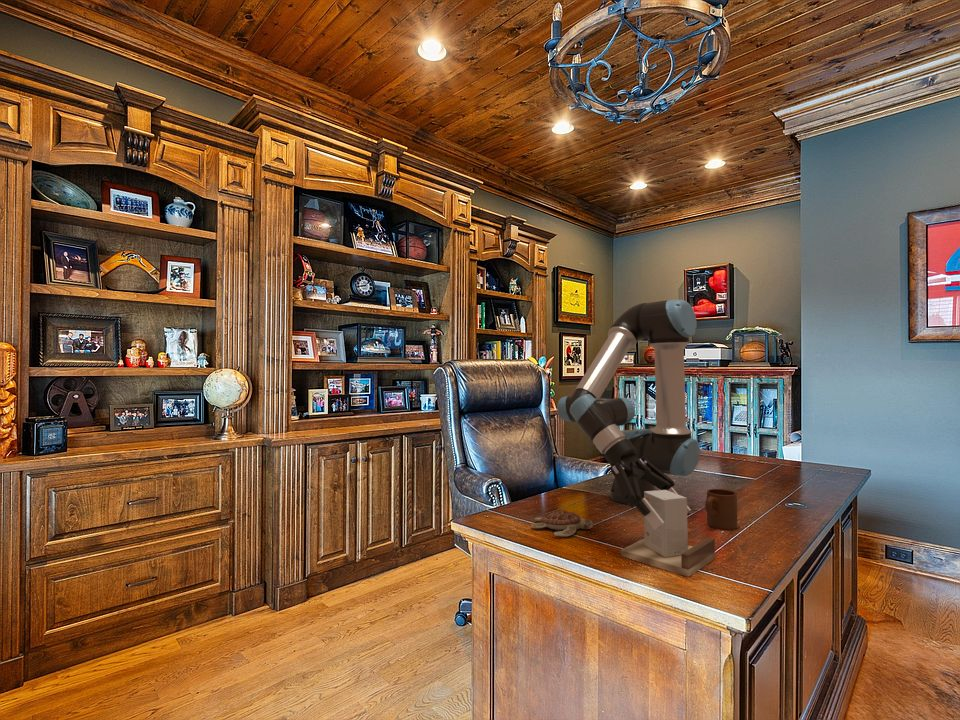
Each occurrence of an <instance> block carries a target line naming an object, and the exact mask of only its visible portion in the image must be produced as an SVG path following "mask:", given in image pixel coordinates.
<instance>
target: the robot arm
mask: <svg viewBox="0 0 960 720" xmlns="http://www.w3.org/2000/svg"><path fill="white" fill-rule="evenodd" d="M697 324H698V323H697V317H696V312H695V310H694V308H693V307H692V305H691V304H690V303H689V302H688V301H686V300H684V299H668V300H660V301H654V302H642V303H639V304H635V305H633V306H631V307H629V308H628V309H626V310H625V311H624V312H623V313H622V314H621V315H620V316H619V317H618V318H617V319H616V320H615V321H614V323H613V324H612V325H611V326H610V327H609V330H608V332H607V339H606V340H605V342H604V343H603V345H602V346H601V348H600V350H599V351H598V352H597V354H596V356H595V358H594V359H593V360H592V363H591V364H590V365H589V367H588V369H587V370H586V372H585V373H584V375H583V377H581V379H580V382H579V383H578V384H577V385H576V388H575V390H574V391H573V392H572V394H571V395H567V396H563V397H561V398H560V399H559V400H558V402H557V406H556V411H557V412H556V413H557V415H558V417H559V419H561V420H563V421H566V422H568V423H569V422H571V423H577V424H578V426H579V427H580V428H581V429H582V431H583V432H584V433H585V434H586V435H587V436H588V438H589V439H590V441H591V442H592V444H593V445H595V447H596V450H598V451H599V452H600V454H601V455H604V456H603V457H604V459H605V460H606V461H607V462H608V464H609V466H610V467H611V468H610V472H611V473H612V475H613V477H614V478H613V481H612V484H611V487H610V490H609V497H610V499H611V500H612V501H613V502H617V503H619V504H625V505H629V506H630V508H633V507H634V506H635V507H636V508H637V509H638V511H639V512H640V514H641V515H642V516H643V517H645V518H646V519H647V521H648V522H649V523H650V525H651V526H652V527H653V528H654V530H656V529H657V528H658V527H660V526H661V525H662V524H663V523H664V521H663V520H662V519H661V518H660V516H659V515H658V514H657V513H656V511H655V510H654V509H653V507H652V506H651V505H650V504H649V502H648V501H647V500H646V499H645V498H644V491H657V489H659V490H667V491H670V492H673V493H675V494H678V492H677V491H676V490H675V489H674V488H673V487H675V485H676V484H675V481H674V480H673V479H671V478H670V477H669V476H668V474H669V475H671V476H681V477H686V476H689V475H691V474H692V473H693V472H694V471H695V470H696V467H697V466H698V463H699V460H700V454H701V448H700V444H699V441H698V440H697V439H694V438H693V437H692V430H691V429H690V428H688V427H687V422H686V421H687V420H686V416H687V415H686V385H685V384H686V383H685V382H686V380H685V379H686V376H685V348H686V347H687V346H688V345H689V343H690V338H692V337H693V336H694V335H695V334H696V332H697V331H696V330H697V328H698V327H697V326H698V325H697ZM642 340H648V343H649V345H648V346H651V348H652V349H653V350H654V381H655V382H654V383H655V385H654V386H655V419H656V422H655V423H656V425H655V427H653V428H652V429H649V428H638V429H626V430H621V429H620V428H619V426H621V427H622V426H625V425H626V424H628V423H631V422H632V420H633V419H634V417H635V414H636V410H635V406H634V403H633V402H632V400H630V399H628V398H627V397H624V396H623V397H615V398H604V397H603V398H601V397H602V394H603V393H604V392H605V390H606V388H607V387H608V385H609V383H610V382H611V380H612V378H613V377H614V375H615V373H616V372H617V370H618V369H619V367H620V365H621V363H622V361H623V360H624V358H625V357H626V355H627V353H628V352H629V350H630V349H631V350H632V349H633V348H634V347H635V346H636V344H637V343H638V342H639V341H642ZM666 474H667V475H666ZM691 510H692V509H691V508H690V507H689V506H688V505H687V514H688V513H689V512H690V511H691Z"/></svg>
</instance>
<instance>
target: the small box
mask: <svg viewBox="0 0 960 720" xmlns="http://www.w3.org/2000/svg"><path fill="white" fill-rule="evenodd" d="M644 498H645V499H646V500H647V501H648V502H649V504H650V505H651V506H652V507H653V509H654V510H655V511H656V513H657V514H658V515H659V516H660V518H661V519H662V520H663V521H664V523H663V524H662V525H661V526H660V527H658V528H657V529H656V530H654V528H653V527H652V526H651V525H650V523H649V522H648V521H647V519H646V518H645V517H644V516H643V517H644V518H643V520H644V521H643V523H644V525H643V527H644V528H643V529H644V533H643V534H644V538H645V546H647V547H649V548H650V549H652V550H654V551H655V552H657V553H659V554H660V555H662V556H664V557H671V556H679V555H681V554H682V553H683V552H685V551H687V550H688V544H689V542H688V541H689V540H688V539H689V538H688V537H689V535H688V533H689V532H688V531H689V530H688V513H687V506H688V497H685V496H683V495H680V494H678V493H677V494H675V493H673V492H670V491H667V490H660V489H659V490H657V489H656V491H644ZM644 538H643V539H644Z"/></svg>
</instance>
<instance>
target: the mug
mask: <svg viewBox="0 0 960 720" xmlns="http://www.w3.org/2000/svg"><path fill="white" fill-rule="evenodd" d="M704 505H705V506H704V508H705V512H706V521H707V522H706V523H707V525H708V526H710V527H711V528H713V529H717V530H722V531H723V530H724V531H731V530H735V529H736V528H737V527H738V497H737V493H736V491H733V490H729V489H724V488H723V489H721V488H711V489H707V491H706V500H705V503H704Z"/></svg>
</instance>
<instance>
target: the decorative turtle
mask: <svg viewBox="0 0 960 720" xmlns="http://www.w3.org/2000/svg"><path fill="white" fill-rule="evenodd" d="M534 521H540V522H535V523H531V527H532V528H534V529H543V528H549V529H551V530H554V529H555V530H556V531H555V532H553V535H554V536H556V537H569V536H570V537H571V536H572V535H574V534H575V533H576V531H577V530H579V529H580V528H581V529H583V530H590V529H592V528H593V527H594V523H593V521H592V520H590V519H588V518H587V519H586V518H582V517H581V516H580V515H579V514H576V513H574V512H573V511H572V512H571V511H567V510H557V511H553V512H550V513H548V514H546V515H544V516H537V517H535V518H534ZM561 530H563V531H561Z"/></svg>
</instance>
